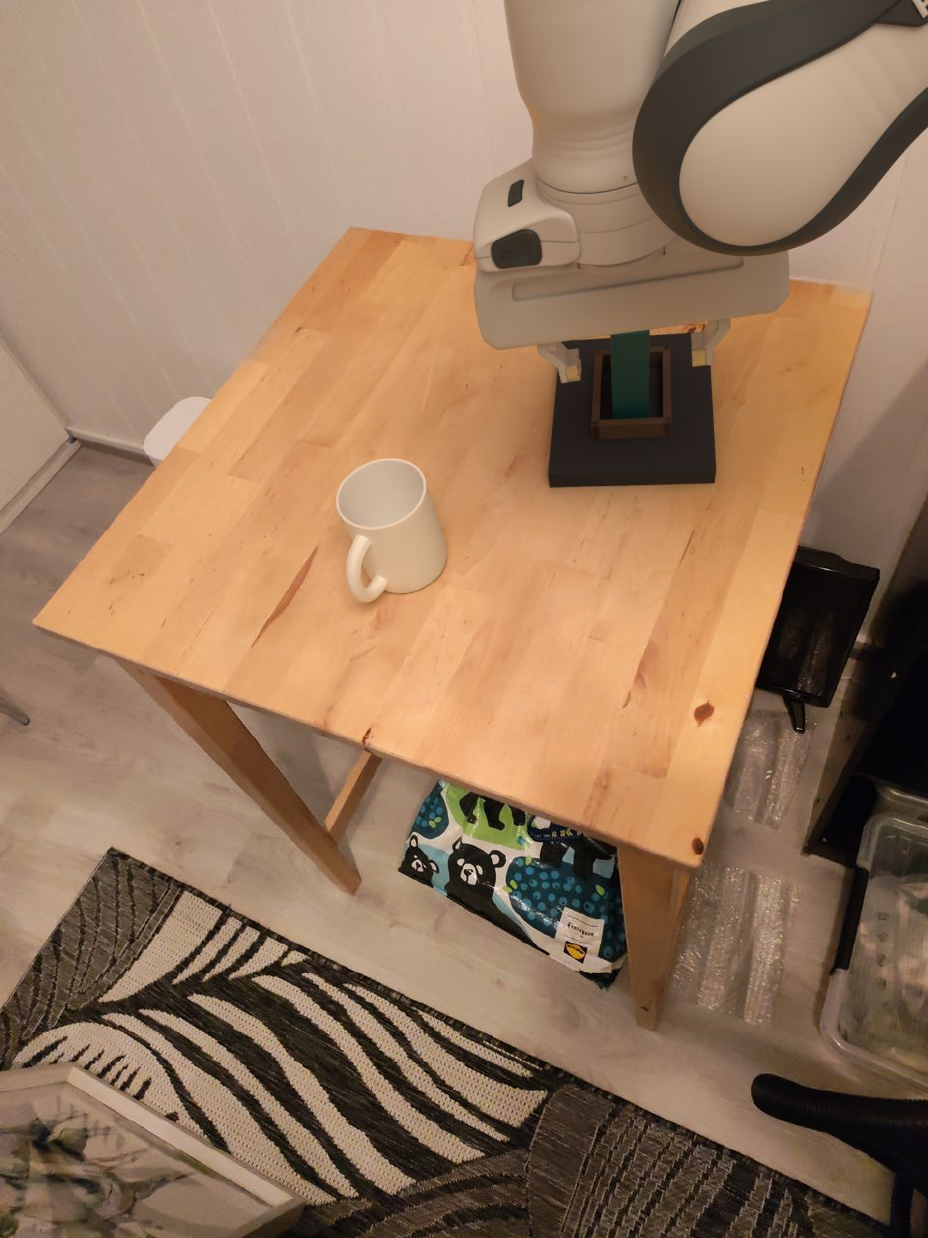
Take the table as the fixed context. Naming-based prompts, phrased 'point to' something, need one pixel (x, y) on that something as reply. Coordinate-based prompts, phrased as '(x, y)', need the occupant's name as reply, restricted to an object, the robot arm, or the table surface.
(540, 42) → the robot arm
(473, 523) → the table surface
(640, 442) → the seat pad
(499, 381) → the table surface
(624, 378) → the back pad
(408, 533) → the mug
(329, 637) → the table surface
